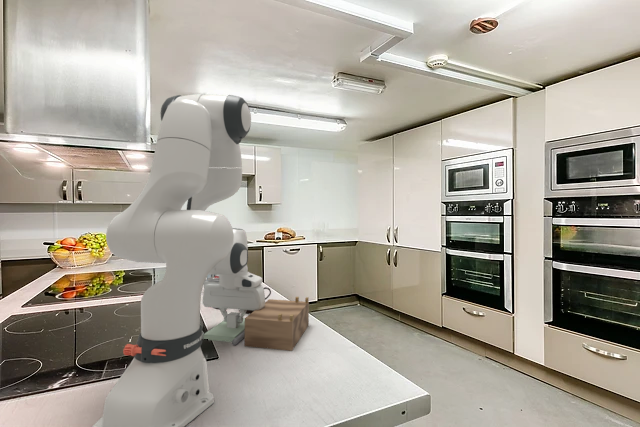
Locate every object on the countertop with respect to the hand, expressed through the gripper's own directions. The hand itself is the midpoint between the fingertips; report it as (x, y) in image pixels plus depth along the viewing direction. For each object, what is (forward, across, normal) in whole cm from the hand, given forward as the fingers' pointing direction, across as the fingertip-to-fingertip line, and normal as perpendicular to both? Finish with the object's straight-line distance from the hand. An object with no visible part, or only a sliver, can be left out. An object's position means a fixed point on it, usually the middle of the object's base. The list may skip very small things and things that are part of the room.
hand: (233, 321), depth 105 cm
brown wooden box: (+3, +15, 0) cm, 16 cm away
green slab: (+3, -1, 0) cm, 3 cm away
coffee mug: (+3, -2, +20) cm, 20 cm away
